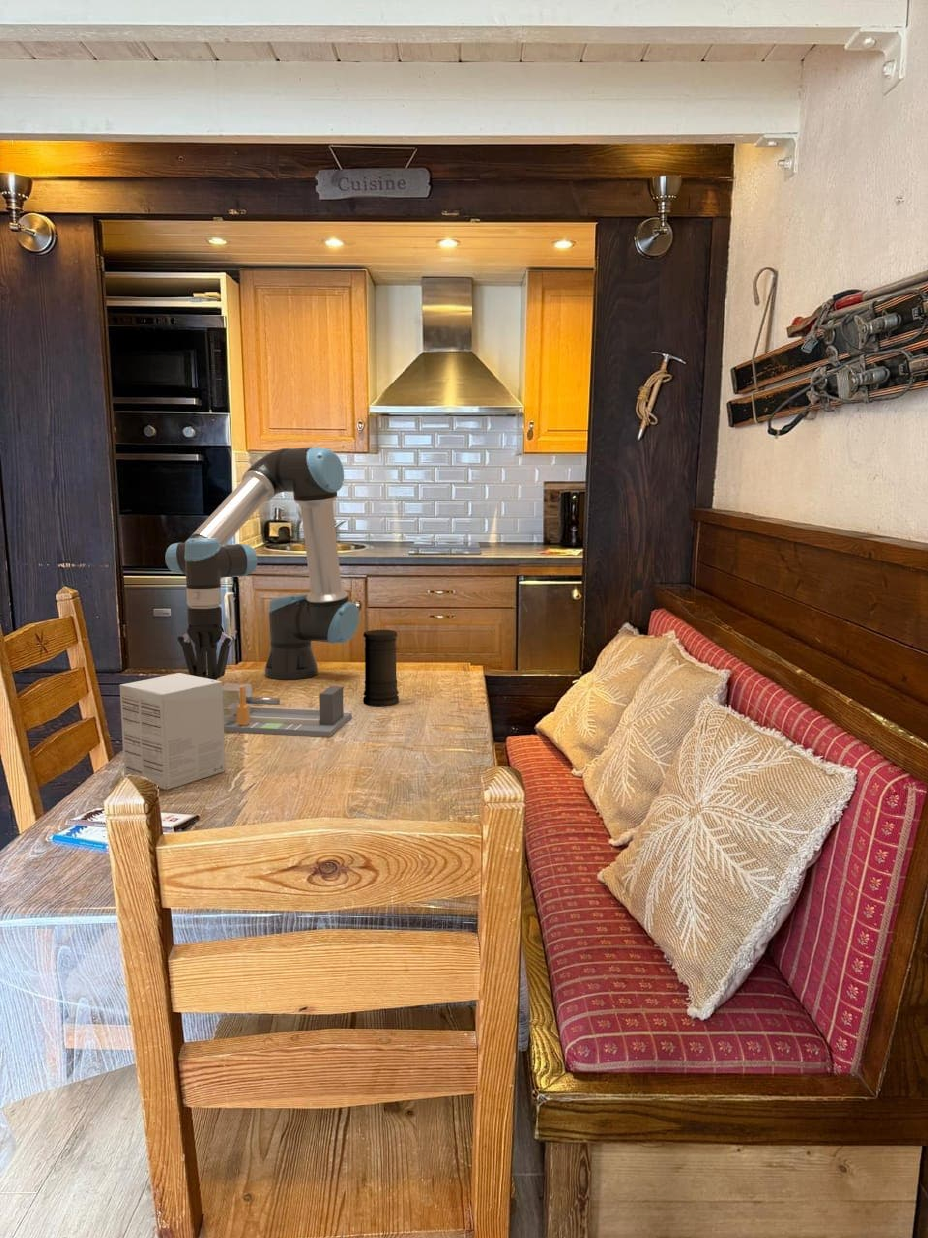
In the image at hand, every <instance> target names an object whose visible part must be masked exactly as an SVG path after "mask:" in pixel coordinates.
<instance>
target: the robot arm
mask: <svg viewBox="0 0 928 1238" xmlns="http://www.w3.org/2000/svg"><path fill="white" fill-rule="evenodd" d="M344 481H345V470H344V465H343V464H342V461H341V459H340V457H339V455H337V454H336V452H335V451H334V450H332V449H330V448H326V447H318V446H312V447H311V446H310V447H294V448H293V447H292V448H289V447H288V448H287V447H286V448H285V447H284V448H283V447H282V448H279V449H275V450H273V451H271V452H269V453H267V454H265V455H264V456H263V457H261V458H260V459H258V460H257V461H256V462H255V463H253V464H252V465H251V466H250V467H248V469H247V470H246V471H245V472H244V473H243V475H242V478H241V482H240V483H239V484H238V485H237V487H236V488H235V489H234V490H233V491H232V492H231V493H230V494H228V496H227V497H226V498H225V499H224V500H223V501H222V502H221V504H219V505H218V506H217V508H216V509H215V510H214V511H213V512H212V513H211V514H210V515H209V517H207V518H206V519H205V520H204V522H203V523H201V525H200V526H198V528H197V529H196V530H195V531H194V532H193V533H192V534H191V535H190V537H188V539H186V540H185V541H184V542H181V541H180V542H175V543H172V544H170V545H169V546H168V548H167V549H166V552H165V557H164V558H165V564H166V566H167V568H168V569H169V570H170V571H171V572H172V573H175V574H180V575H184V576H185V579H186V580H185V581H186V588H185V589H186V605H187V606H189V607H188V608H187V610H186V611H187V613H186V614H187V616H186V617H187V623H188V626H187V629H186V633H184V634H183V635H180V636H178V637H177V641H178V644H180V646H181V649H182V651H183V655H184V659H185V663H186V667H187V671H188V675H192V676H197V677H202V678H208V679H213V680H217V681H218V679H220V678H222V677H224V676H225V674H226V670H227V664H228V659H229V654H230V649H231V646H232V644H233V643H234V641H235V637H234V636H232V635H231V636H229V635H228V634H227V633H225V630H224V628H223V610H222V607H221V606H220V605H222V602H223V600H222V588H221V587H222V581H221V580H222V579H223V578H233V577H243V576H246V575H248V576H249V575H250V574H252V573H253V572H254V571H255V570H256V569H257V566H258V555H257V552H256V551H255V549H254V548H253V547H251V546H250V545H249V544H243V543H242V544H241V543H236V544H228V543H229V541H230V540H231V539H232V538H233V537H234V536H235V534H236V533H237V532H238V531H240V529H241V528H242V527H243V526H244V524H246V522H247V521H248V520H249V519H251V517H252V516H253V514H254V513H255V512H256V511H257V510H258V509H259V508H260V507H261V506H262V504H264V503H265V502H269V501H271V500H272V499H273V498H274V497H275V496H276V495H279V494H281V493H286V492H287V493H292V494H293V496H292V497H293V501H294V502H295V503H296V504H297V505H298V506H299V507H300V513H301V521H302V528H303V536H304V538H303V539H304V545H305V554H306V559H307V560H306V563H307V569H308V577H309V578H308V579H309V585H310V592H309V593H304V594H301V593H300V594H294V595H293V594H291V595H286V596H285V595H284V596H278V597H274V598H271V599H270V601H269V609H268V610H269V611H268V619H269V621H268V623H269V639H270V641H269V643H270V648H269V652H268V657H267V659H266V663H265V666H264V675H265V677H266V678H268V679H275V680H300V679H307V678H312V677H315V676H317V675H318V674H319V668H318V667H319V665H318V663H317V659H316V657H315V654H314V652H313V649H312V648H313V647H312V642H320V643H329V644H345V643H347V642H349V641H350V640H351V639H352V638H353V637H354V635H355V634H356V631H357V630H358V626H359V621H360V612H359V608H358V606H357V605H356V604H355V603H354V602H351V601H349V593H348V591H346V590H345V589H343V586H342V580H341V579H342V577H341V569H340V560H339V550H338V549H339V548H338V542H337V541H338V540H337V532H336V524H335V514H334V505H333V504H334V502H335V501H336V499H337V498H338V491H339V490H341V489H342V488H343V485H344ZM191 641H192V642H191ZM219 642H220V643H221V646H220V649H219V654H218V653H217V650H218V643H219ZM192 643H193V644H194V647H193V644H192ZM217 654H218V655H217ZM217 656H218V658H217Z"/></svg>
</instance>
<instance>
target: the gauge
mask: <svg viewBox="0 0 928 1238" xmlns="http://www.w3.org/2000/svg"><path fill="white" fill-rule="evenodd" d="M241 686H246V705H250V712H252V706H253V705H262V706H263V705H265V706H280V705H281V698H279V697H259V696H258V697H257V696H253V693H252V683H232V682H231V683H230V682H228V683H227V682H226V683H224V684H222V694H223V715H224V716H232V715H237V707H238V706H239V705H240V687H241Z"/></svg>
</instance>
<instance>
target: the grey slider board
mask: <svg viewBox="0 0 928 1238" xmlns="http://www.w3.org/2000/svg"><path fill="white" fill-rule="evenodd" d="M318 695H319V708H301V707H297V708H296V707H276V706H255V705H252V712H250V723H249V724H247V725H237V715H232V716H224V715H223V718H224V733H239V734H241V733H242V734H257V735H258V734H260V735H263V734H264V735H277V736H279V735H281V736H299V737H321V738H324V737H325V738H331V737H333V736H334V735H335V734H336V733H337V732H338V731H339V730H340V729H341V728H343V727H344V726H345V724H347V723H348V722H349V721H351V719H352V717H353V716H352V715H353V714H352V712H344V686H343V685H342V686H341V685H340V686H338V685H337V686H336V685H329V687H327V688H325V689H324V690H323V691H321V692H320V693H319V694H318Z"/></svg>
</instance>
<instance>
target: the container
mask: <svg viewBox="0 0 928 1238" xmlns="http://www.w3.org/2000/svg"><path fill="white" fill-rule="evenodd" d="M362 635H363V637H364V638H365V639H364V643H365V647H364V662H365V663H364V666H365V667H364V668H365V670H364V674H365V675H364V677H365V679H364V692H363V695H364V697H363V698H362V701H363V704H364V705H367V706H370V707H390V706H394V705H396V704H398V703H399V701H400V697H399V690H398V678H397V677H398V676H397V644H396V643H397V637H398V632H397V631H395V630H391V629H372V630H367V631H364V632H363V634H362Z"/></svg>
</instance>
